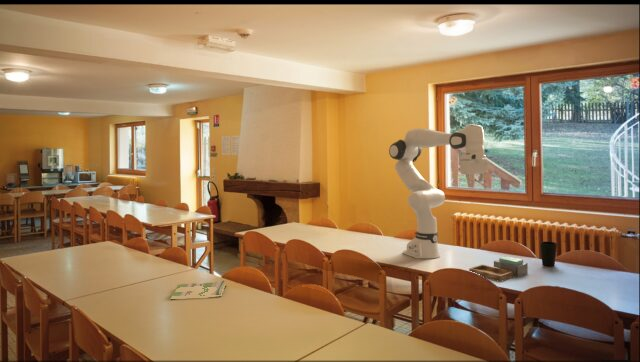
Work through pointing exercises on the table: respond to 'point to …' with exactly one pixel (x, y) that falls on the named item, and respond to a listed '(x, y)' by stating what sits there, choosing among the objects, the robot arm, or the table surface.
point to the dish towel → (216, 284)
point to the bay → (515, 268)
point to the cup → (548, 253)
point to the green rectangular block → (508, 261)
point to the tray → (492, 272)
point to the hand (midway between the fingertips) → (475, 182)
